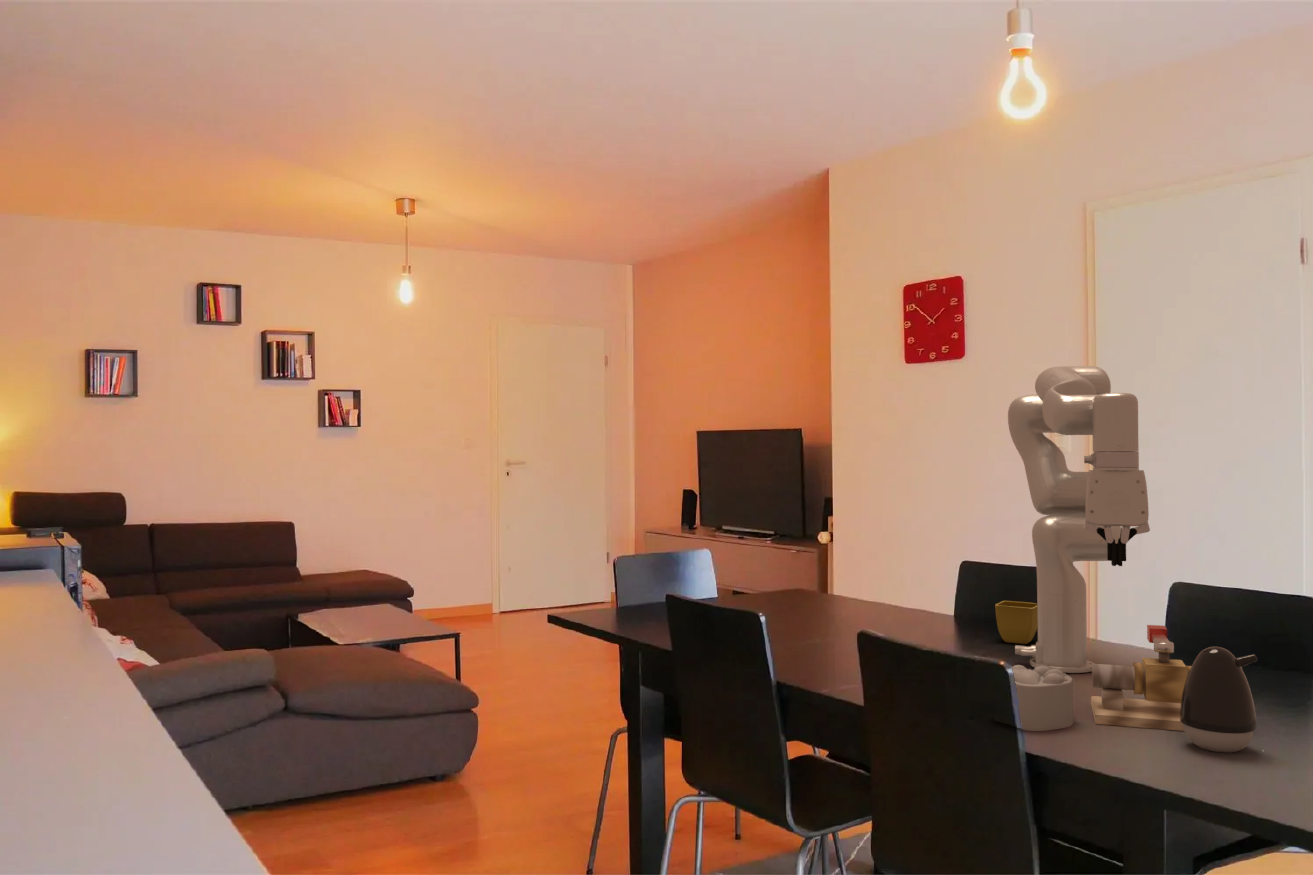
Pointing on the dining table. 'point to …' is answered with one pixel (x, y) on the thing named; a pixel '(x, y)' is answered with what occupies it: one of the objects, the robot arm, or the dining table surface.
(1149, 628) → the valve lever
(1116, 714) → the valve bench
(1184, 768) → the dining table surface
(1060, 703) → the lumpy-topped squat cylinder
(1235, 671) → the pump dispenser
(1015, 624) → the flower pot
